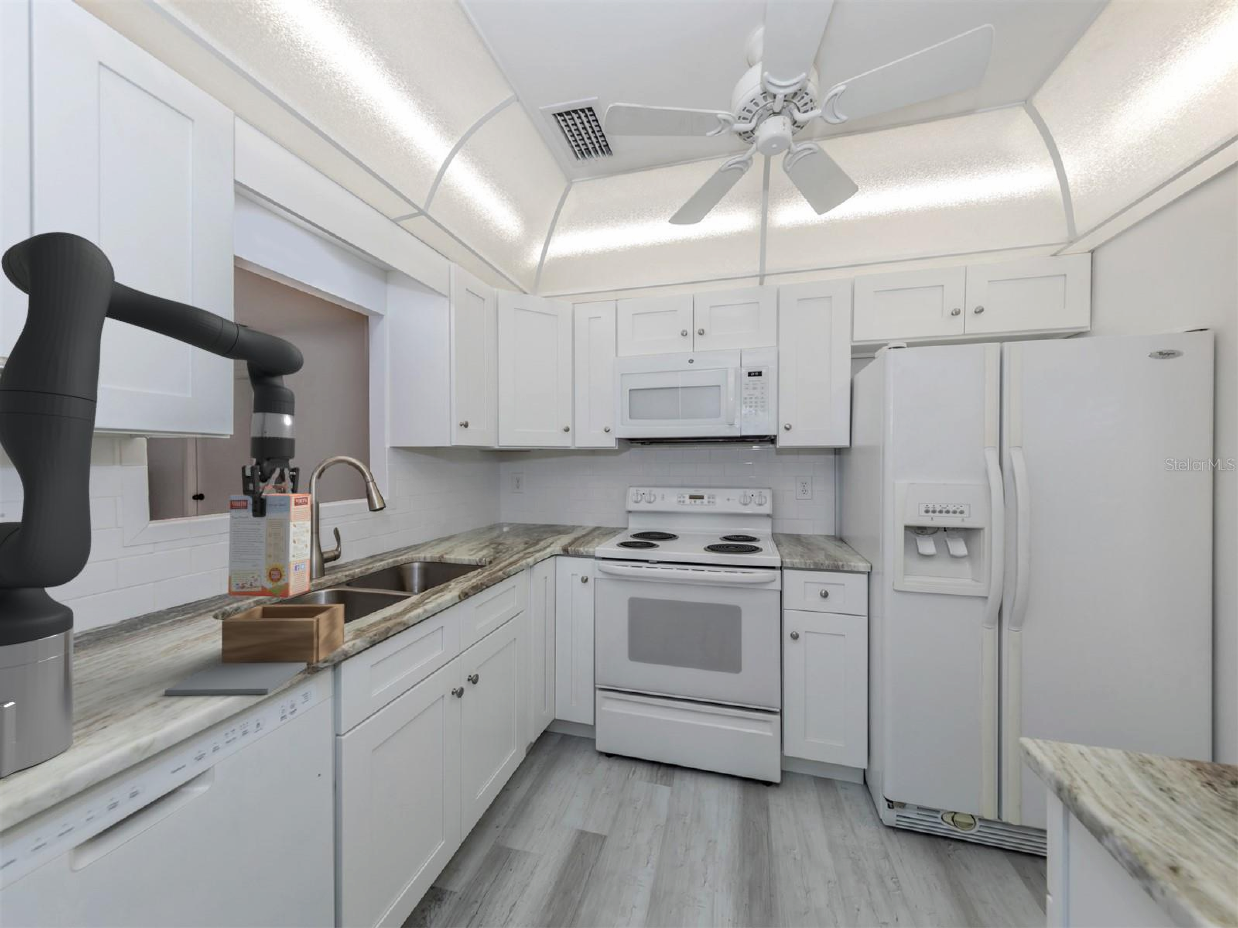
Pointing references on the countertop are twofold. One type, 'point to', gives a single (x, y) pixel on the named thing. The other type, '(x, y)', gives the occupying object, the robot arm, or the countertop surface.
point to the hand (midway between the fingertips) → (271, 515)
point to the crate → (283, 633)
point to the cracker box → (270, 546)
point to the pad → (237, 679)
